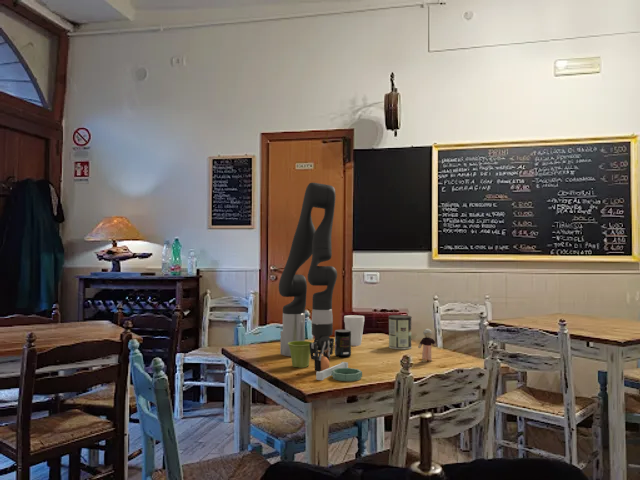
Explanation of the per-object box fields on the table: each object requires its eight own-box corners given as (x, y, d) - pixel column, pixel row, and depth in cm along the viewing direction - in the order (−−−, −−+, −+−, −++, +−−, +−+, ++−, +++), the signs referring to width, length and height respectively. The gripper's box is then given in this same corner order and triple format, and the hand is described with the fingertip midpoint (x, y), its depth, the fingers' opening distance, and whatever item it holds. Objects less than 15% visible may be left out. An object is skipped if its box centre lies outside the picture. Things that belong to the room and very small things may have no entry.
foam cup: (351, 342, 242) (351, 314, 242) (368, 344, 236) (368, 316, 237) (340, 344, 234) (340, 316, 234) (357, 347, 229) (357, 318, 229)
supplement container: (345, 354, 212) (346, 329, 213) (354, 357, 206) (354, 331, 207) (331, 355, 209) (331, 330, 210) (339, 358, 203) (339, 332, 204)
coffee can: (400, 344, 235) (400, 314, 236) (416, 348, 227) (416, 316, 227) (383, 346, 230) (383, 315, 230) (399, 350, 221) (399, 318, 222)
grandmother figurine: (423, 362, 196) (423, 329, 196) (417, 361, 199) (416, 328, 200) (438, 361, 199) (438, 328, 200) (432, 359, 203) (432, 327, 203)
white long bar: (316, 379, 169) (316, 371, 169) (342, 368, 185) (342, 361, 185) (322, 380, 167) (322, 372, 167) (348, 369, 184) (348, 362, 184)
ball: (311, 371, 180) (311, 356, 180) (319, 368, 184) (319, 353, 184) (324, 373, 177) (324, 358, 177) (332, 370, 182) (332, 355, 182)
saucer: (327, 378, 169) (327, 372, 169) (340, 373, 178) (340, 366, 178) (353, 382, 165) (353, 375, 165) (365, 376, 173) (365, 370, 173)
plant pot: (292, 369, 182) (293, 345, 183) (284, 364, 191) (284, 341, 191) (316, 367, 186) (316, 344, 186) (307, 362, 195) (307, 340, 195)
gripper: (322, 318, 189) (322, 364, 189) (302, 323, 177) (302, 372, 176) (340, 320, 185) (340, 366, 185) (321, 324, 173) (321, 374, 173)
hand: (321, 369), depth 181 cm, fingers closed on ball, 5 cm apart
